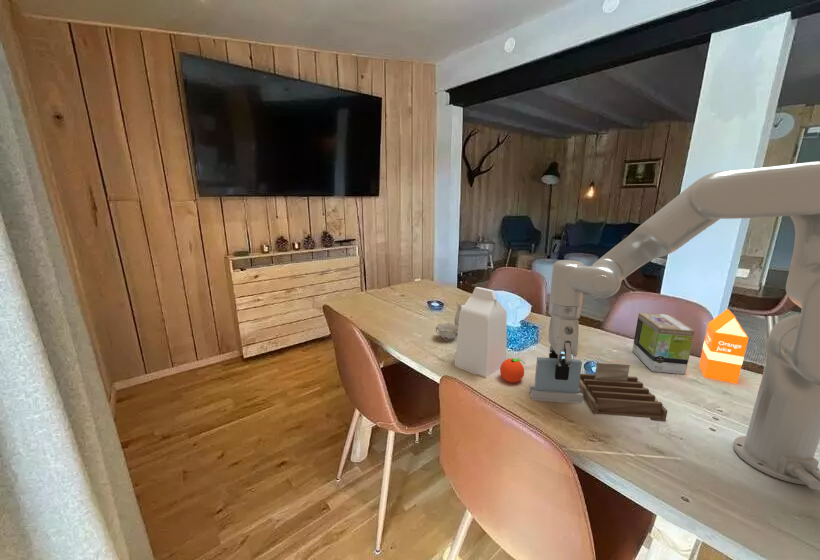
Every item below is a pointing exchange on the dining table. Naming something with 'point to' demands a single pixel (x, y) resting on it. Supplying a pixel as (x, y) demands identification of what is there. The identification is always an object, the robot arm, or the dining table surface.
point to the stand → (556, 396)
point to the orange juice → (723, 348)
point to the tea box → (663, 343)
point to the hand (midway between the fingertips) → (557, 372)
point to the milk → (481, 334)
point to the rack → (619, 393)
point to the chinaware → (451, 327)
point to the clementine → (512, 370)
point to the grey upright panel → (547, 376)
